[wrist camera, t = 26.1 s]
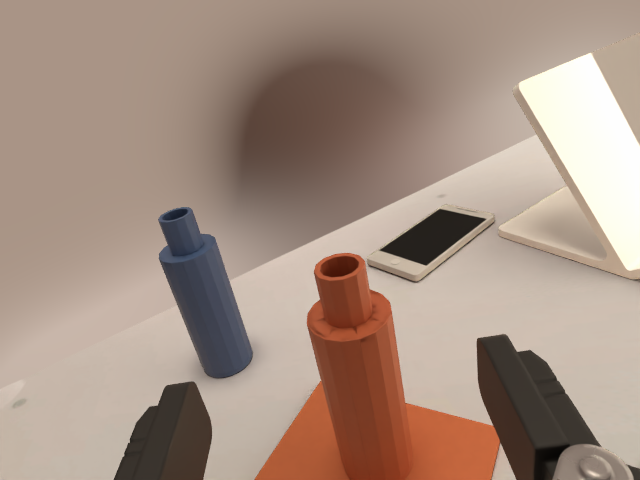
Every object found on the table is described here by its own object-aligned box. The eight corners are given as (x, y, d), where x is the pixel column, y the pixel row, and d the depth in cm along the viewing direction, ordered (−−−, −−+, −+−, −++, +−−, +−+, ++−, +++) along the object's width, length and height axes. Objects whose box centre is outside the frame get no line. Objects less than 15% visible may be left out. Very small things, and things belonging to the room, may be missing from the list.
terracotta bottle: (361, 504, 29) (313, 303, 22) (332, 447, 33) (284, 262, 26) (427, 470, 30) (400, 269, 23) (391, 419, 34) (359, 235, 27)
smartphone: (366, 264, 54) (365, 257, 53) (445, 209, 62) (445, 202, 62) (417, 282, 49) (416, 275, 48) (496, 220, 57) (496, 213, 56)
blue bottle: (232, 383, 41) (175, 230, 34) (193, 371, 43) (133, 226, 36) (262, 348, 44) (216, 202, 37) (224, 339, 47) (174, 200, 40)
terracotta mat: (465, 586, 24) (464, 580, 24) (250, 492, 31) (248, 487, 31) (502, 433, 32) (502, 428, 31) (321, 384, 39) (320, 380, 39)
